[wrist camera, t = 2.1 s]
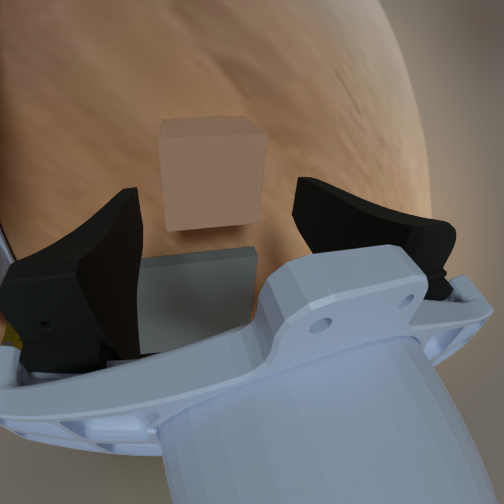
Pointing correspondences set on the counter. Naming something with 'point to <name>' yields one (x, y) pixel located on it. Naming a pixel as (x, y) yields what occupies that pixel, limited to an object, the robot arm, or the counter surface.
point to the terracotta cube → (211, 171)
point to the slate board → (193, 296)
